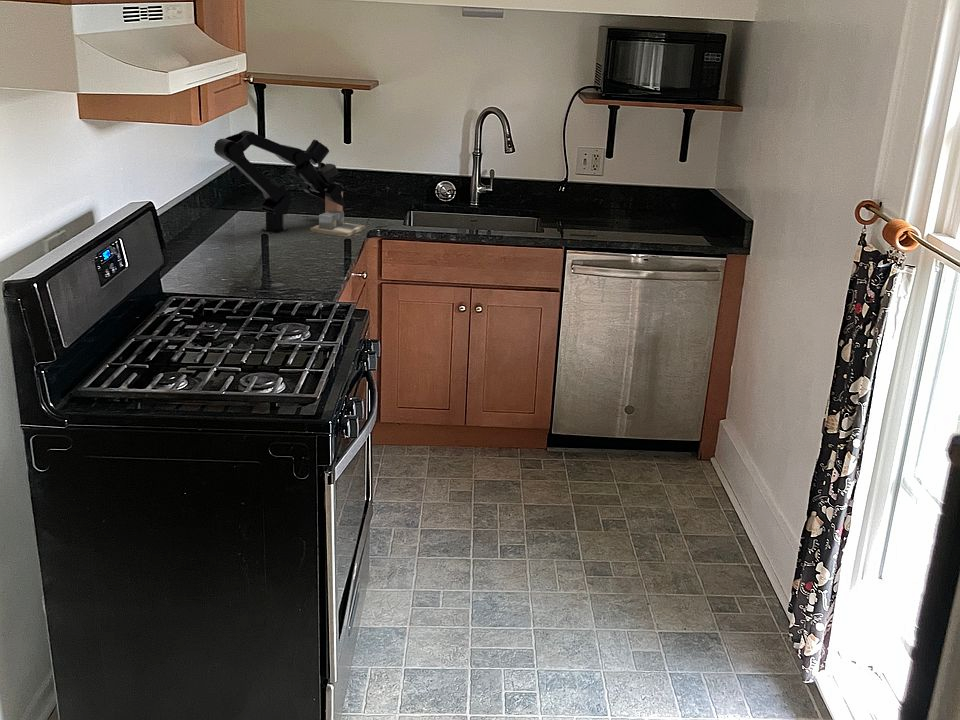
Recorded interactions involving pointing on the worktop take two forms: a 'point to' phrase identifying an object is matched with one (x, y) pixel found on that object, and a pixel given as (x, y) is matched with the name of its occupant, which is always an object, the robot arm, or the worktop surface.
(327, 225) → the maple board
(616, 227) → the worktop surface
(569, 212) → the worktop surface
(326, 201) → the terracotta block
